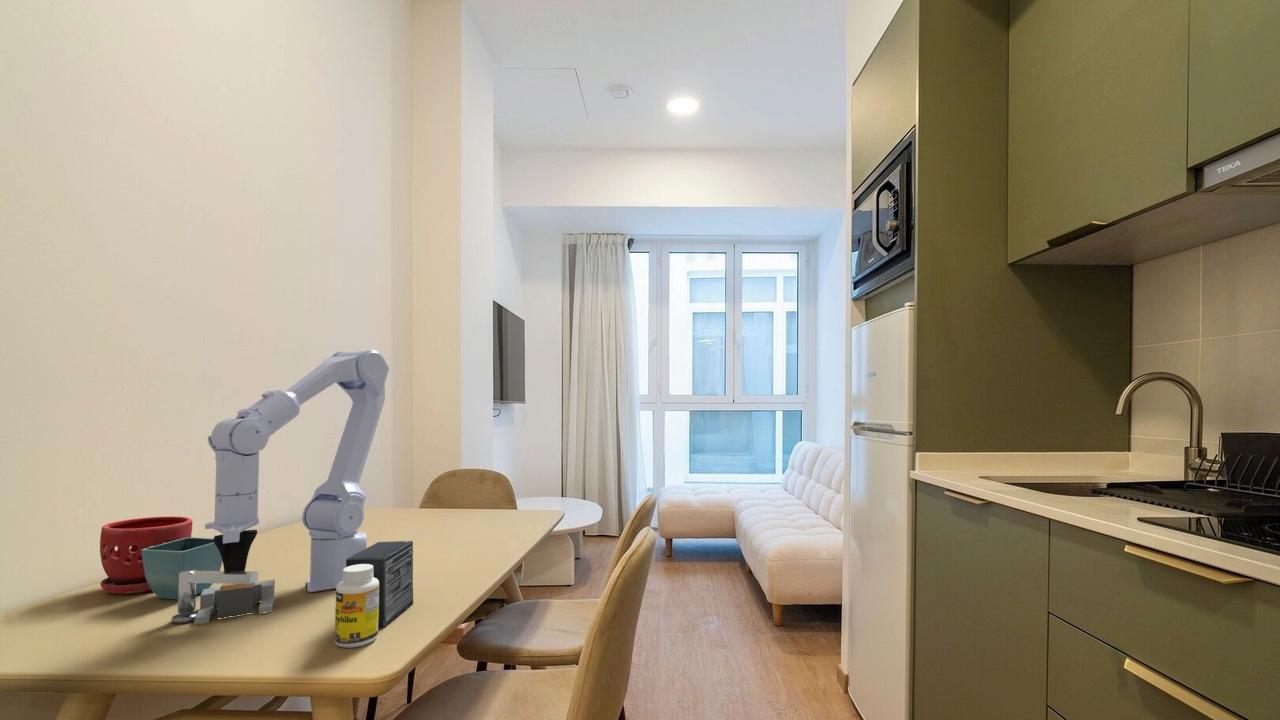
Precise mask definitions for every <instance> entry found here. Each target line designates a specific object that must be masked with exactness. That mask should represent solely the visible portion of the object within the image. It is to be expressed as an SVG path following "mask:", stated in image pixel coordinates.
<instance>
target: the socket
mask: <svg viewBox="0 0 1280 720" xmlns="http://www.w3.org/2000/svg"><path fill="white" fill-rule="evenodd" d="M275 581H276V579H266V580H260V581H256V582H255V592H254V602H259V601H261V602H260V603H259V606H258V614H259V613H263V612H269V611H272V612H273V608H274V602H275V588H276V587H275V585H276V584H275V583H276V582H275ZM220 588H221V586H217V587H210V588H209V589H204V590H203V592H202V593H200V597H199V599H200V601H199V603H200V604H199V605H200V606H199V610H197V611H198V613H197V615H196V617H195V621H194V626H196V625H202V624H208V622H209V623H210V621H211V618H212V616H213V614H214V612H213V611H215V610H218V609H217V608H218V595H219V590H220ZM273 601H274V602H273ZM214 609H215V610H214Z"/></svg>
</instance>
